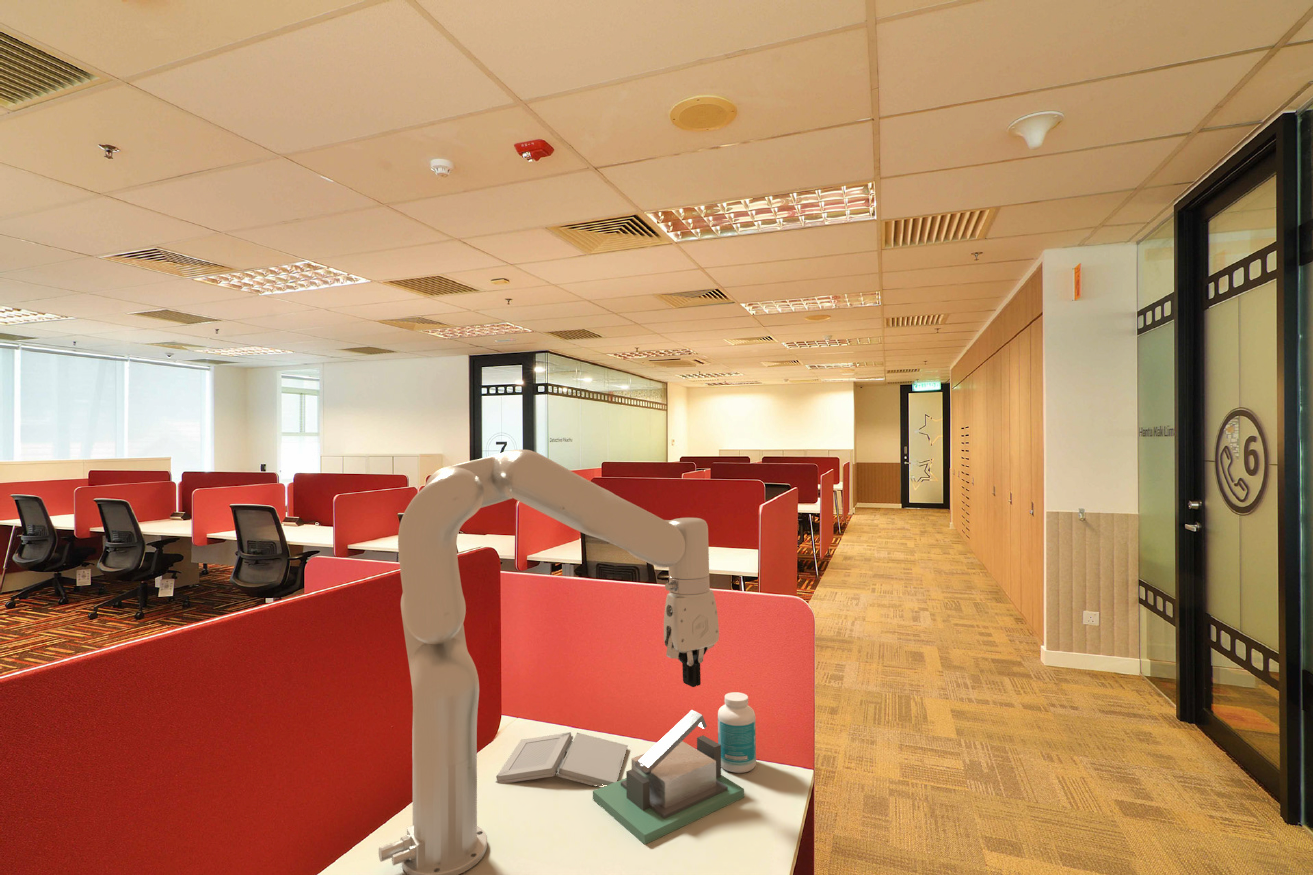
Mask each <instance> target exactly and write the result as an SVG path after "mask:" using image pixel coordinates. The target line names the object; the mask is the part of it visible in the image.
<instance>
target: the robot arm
mask: <svg viewBox="0 0 1313 875" xmlns="http://www.w3.org/2000/svg"><path fill="white" fill-rule="evenodd" d="M512 499H514V500H516V501H518V502H520V503H521V504H524V505H526V506H528V507H529V508H532V509H534V510H536V511H538V512H540V513H542V514H543V515H546V516H548V517H549V518H552V519H554V520H556V521H557V522H560V523H561V524H563V525H565V526H568V527H569V528H571V529H574V530H575V531H578V532H580V533H581V534H585V535H587V536H590V537H593V538H596V539H599V540H602V541H604V542H607V543H610V544H612V545H614V546H616V547H618V548H621V549H622V550H625V551H627V552H628V554H629V555H630V556H632V557H634V558H635V559H637V560H640V561H642V562H644V563H648V564H649V565H652V566H655V567H658V568H661V569H662V568H664V569H665V568H668V582H666V583H665V584H664V588H665V590H666V591H668V592H669V593H667V594H666V598H665V605H664V614H663V615H664V616H663V642H664V645H665V647H666V653H665V654H666V657H667V658H670V659H674V660H675V659H677V660H678V661H679V662H680V663H682V665H681V667H682V683H683V684H685V685H686V686H690V687H691V688H695V687H696V688H697V687H698V686H701V683H702V682H701V680H702V679H701V664H702V663H703V662H704V656H705V654H706V652H707V651H708V650H710V649H711V648H713V647H714V646H715V644H717V642H719V640H720V639H719V638H720V628H719V627H720V626H719V625H720V624H719V616H718V607H717V602H716V597H715V594H714V590H713V589H710V588H711V587H710V559H709V558H710V557H709V556H710V554H709V553H710V552H709V550H710V549H709V547H710V546H709V526H708V523H707V521H706V520H705V519H702V518H699V517H680V518H674V519H671V520H669V519H664V518H661V517H659V516H658V515H656V514H653V513H652V512H649V511H647V510H646V509H644V508H642V507H640V506H638V505H636V504H634V503H632V502H631V501H628V500H626V499H624V498H622V497H620V496H619V495H616V494H615V493H613V492H612V491H610V490H608V489H606V488H604V487H601V486H599V485H598V484H596V483H595V482H592V481H591V480H588V479H587V478H584V477H583V476H581V475H579V474H577V473H575V472H574V471H572V470H570V469H568V468H567V467H564V466H563V465H561V464H559V463H557V462H555V461H553V460H552V459H550V458H548V457H546V456H544V455H542V454H540V453H539V452H537V451H533V450H530V449H511V450H507V451H503V452H501V453H498V454H493V455H490V456H486V457H482V458H479V459H473V460H469V461H466V462H462V463H457V464H453V465H449V466H445V467H442V468H440V469H438V470H436V471H434V473H431V475H430V476H429V477H428V479H427V480H426V483H425V486H423V488H421V489H420V490H419V491H418V492H417V493H416V495H414V497H413V498H412V499H411V501H410V502H409V504H408V505H407V507H406V509H405V510H404V512H403V514H402V517H401V520H400V522H399V527H398V534H397V547H398V560H399V571H400V572H399V573H400V581H401V588H402V594H401V598H400V611H401V618H402V619H401V620H402V626H403V634H404V640H405V648H406V654H407V660H408V667H409V668H408V669H409V675H410V683H411V684H410V685H411V690H412V692H411V693H412V730H411V732H412V733H411V734H412V736H411V738H412V742H411V743H412V745H411V748H412V750H411V751H412V755H411V757H412V825H410V826H408V827H406V835H403V836H401V837H400V840H397V841H394V842H390V843H388V844H385V845H381V846H379V847H378V859H379V861H380V863H382V862H384V861H387V860H389V859H391V862H392V863H391V864H392V866H396V865H399V864H401V867H402V870H403V871H404V872H405V873H406V874H407V875H461V874H462V873H466V871H468V870H470V869H472V868H473V867H475V865H477V864H478V863H479V862H480V861H481V860H482V859H483V857H484V856H485V855H486V852H487V849H488V835H487V833H486V832H485V831H484V830H483V828H481V827H480V826H478V777H477V776H478V768H477V767H478V748H477V746H478V744H477V743H478V742H477V741H478V740H477V738H478V736H477V735H478V734H477V732H478V729H477V728H478V727H477V726H478V711H479V710H478V708H479V699H480V698H479V697H480V680H479V675H478V670H477V667H476V664H475V662H474V660H473V658H472V656H471V655H470V653H469V651H468V647H467V641H466V634H465V626H464V625H465V624H464V622H465V617H466V613H467V611H466V609H467V606H466V599H465V596H464V593H463V588H462V582H461V581H462V580H461V575H460V568H459V560H458V558H459V557H458V546H457V542H458V541H457V540H458V535H459V532H460V529H461V528H462V526H463V525H464V524H465V522H467V521H468V520H469V519H471V518H472V517H473V516H474V515H476V513H478V512H479V510H480V509H481V508H485V507H489V506H492V505H495V504H498V503H502V502H505V501H508V500H512Z"/></svg>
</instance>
